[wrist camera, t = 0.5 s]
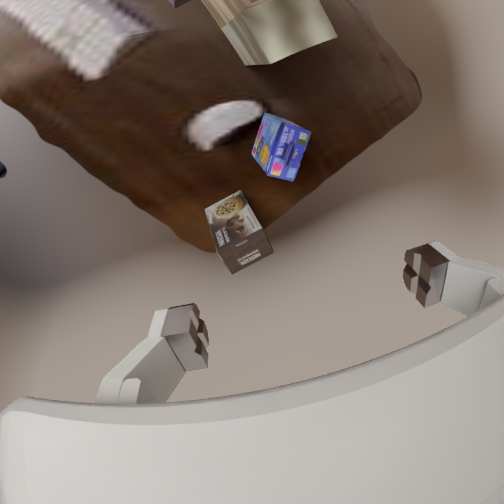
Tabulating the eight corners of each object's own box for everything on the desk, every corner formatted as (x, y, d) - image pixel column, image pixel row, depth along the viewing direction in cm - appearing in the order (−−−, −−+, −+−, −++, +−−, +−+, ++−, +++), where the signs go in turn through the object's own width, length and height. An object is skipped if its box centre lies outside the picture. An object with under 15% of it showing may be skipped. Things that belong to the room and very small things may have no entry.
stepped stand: (244, 65, 42) (297, 63, 24) (197, -5, 30) (217, -57, 12) (297, 41, 41) (374, 35, 22) (254, -28, 29) (310, -76, 11)
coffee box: (217, 229, 63) (230, 275, 51) (203, 208, 59) (215, 252, 47) (252, 211, 63) (275, 253, 50) (241, 188, 58) (262, 228, 46)
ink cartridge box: (262, 111, 49) (290, 125, 38) (287, 118, 51) (320, 135, 40) (249, 155, 54) (271, 182, 43) (273, 160, 56) (301, 188, 45)
